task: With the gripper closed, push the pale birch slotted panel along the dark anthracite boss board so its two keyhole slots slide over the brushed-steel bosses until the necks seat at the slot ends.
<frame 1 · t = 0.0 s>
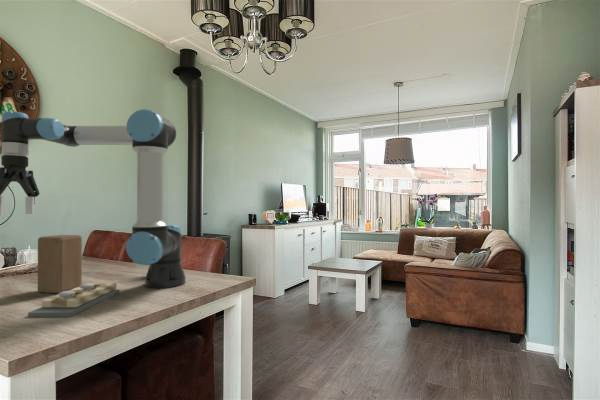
hand: (14, 214, 125), 28 cm above the table, fingers open, 13 cm apart
boss board: (78, 303, 111), on the table
wooden block: (60, 290, 128), on the table
panel: (82, 294, 113), point 2 cm above the table, slide at 0.0 cm
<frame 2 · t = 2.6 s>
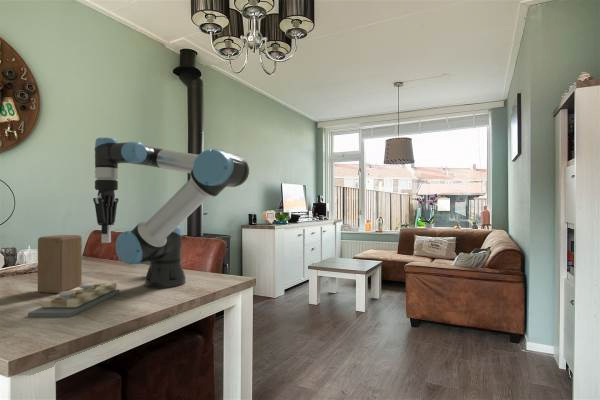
hand: (106, 242, 130), 17 cm above the table, fingers closed
nothing on the table moved.
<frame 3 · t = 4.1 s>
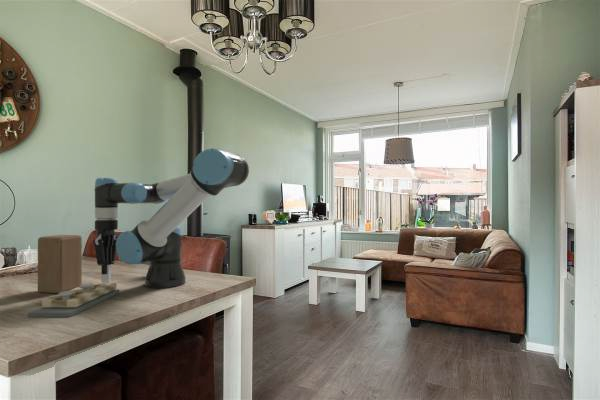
hand: (106, 282, 130), 2 cm above the table, fingers closed
nothing on the table moved.
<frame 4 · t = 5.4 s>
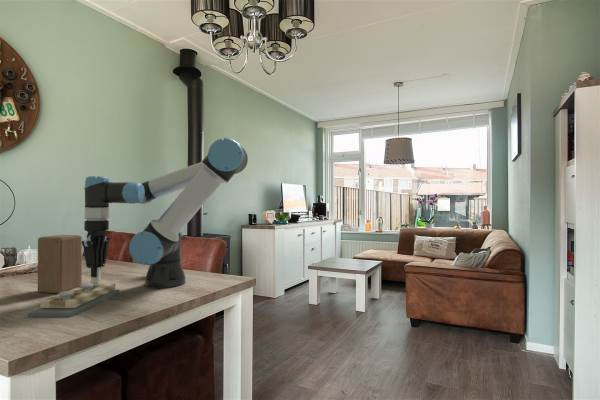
hand: (95, 285, 124), 3 cm above the table, fingers closed
panel: (81, 294, 112), point 2 cm above the table, slide at 0.7 cm, touching gripper
everything else where it was.
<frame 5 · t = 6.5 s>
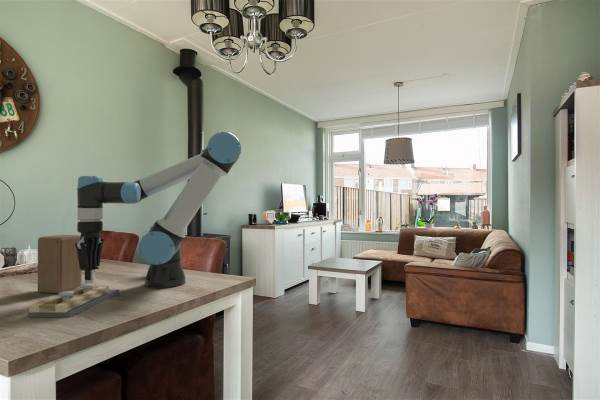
hand: (89, 288, 120), 2 cm above the table, fingers closed
panel: (73, 298, 108), point 2 cm above the table, slide at 4.7 cm, touching gripper
everything else where it was.
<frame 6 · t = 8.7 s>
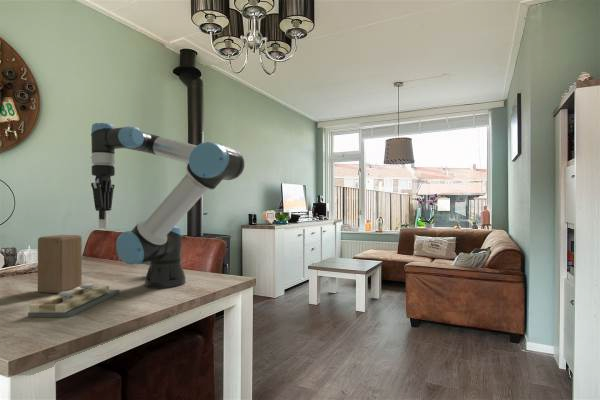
hand: (103, 228, 130), 23 cm above the table, fingers closed
panel: (73, 298, 108), point 2 cm above the table, slide at 4.7 cm
everything else where it was.
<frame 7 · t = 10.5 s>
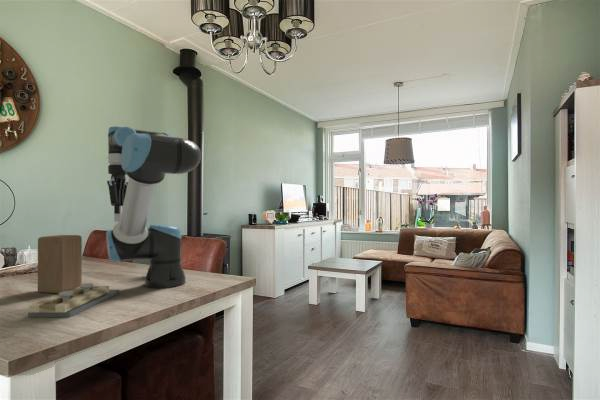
hand: (118, 221, 144), 24 cm above the table, fingers closed
nothing on the table moved.
at the end: panel slide at 4.7 cm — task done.
